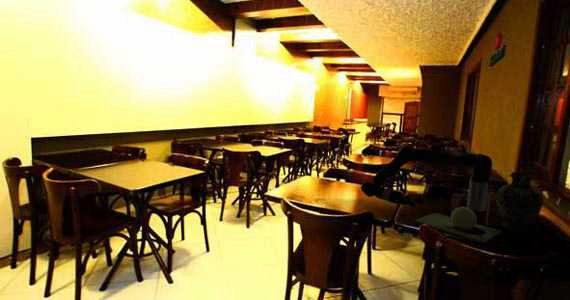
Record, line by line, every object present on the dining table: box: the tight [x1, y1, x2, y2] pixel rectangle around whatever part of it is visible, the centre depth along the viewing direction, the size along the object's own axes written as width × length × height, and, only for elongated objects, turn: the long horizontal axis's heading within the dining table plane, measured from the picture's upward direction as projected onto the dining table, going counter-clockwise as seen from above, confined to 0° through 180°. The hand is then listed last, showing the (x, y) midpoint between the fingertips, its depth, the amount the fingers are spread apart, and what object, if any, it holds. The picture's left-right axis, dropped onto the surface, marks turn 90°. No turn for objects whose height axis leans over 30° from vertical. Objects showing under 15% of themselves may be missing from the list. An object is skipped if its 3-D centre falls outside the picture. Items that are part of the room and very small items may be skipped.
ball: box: [450, 206, 478, 231], centre depth 154 cm, size 11×11×11 cm
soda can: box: [450, 192, 467, 215], centre depth 176 cm, size 7×7×12 cm
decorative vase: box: [495, 171, 544, 232], centre depth 159 cm, size 21×19×28 cm
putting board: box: [414, 191, 503, 243], centre depth 156 cm, size 32×22×19 cm
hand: (418, 203), depth 172 cm, fingers open, 8 cm apart
